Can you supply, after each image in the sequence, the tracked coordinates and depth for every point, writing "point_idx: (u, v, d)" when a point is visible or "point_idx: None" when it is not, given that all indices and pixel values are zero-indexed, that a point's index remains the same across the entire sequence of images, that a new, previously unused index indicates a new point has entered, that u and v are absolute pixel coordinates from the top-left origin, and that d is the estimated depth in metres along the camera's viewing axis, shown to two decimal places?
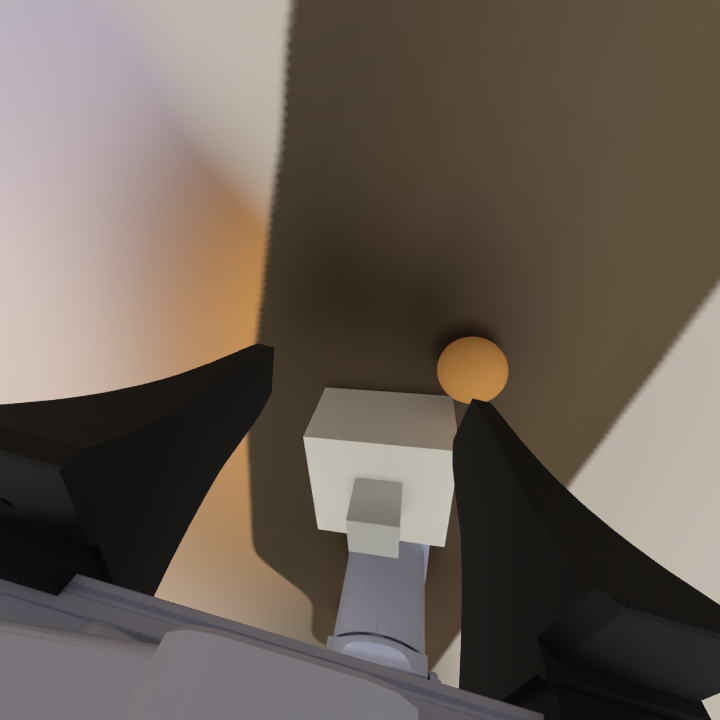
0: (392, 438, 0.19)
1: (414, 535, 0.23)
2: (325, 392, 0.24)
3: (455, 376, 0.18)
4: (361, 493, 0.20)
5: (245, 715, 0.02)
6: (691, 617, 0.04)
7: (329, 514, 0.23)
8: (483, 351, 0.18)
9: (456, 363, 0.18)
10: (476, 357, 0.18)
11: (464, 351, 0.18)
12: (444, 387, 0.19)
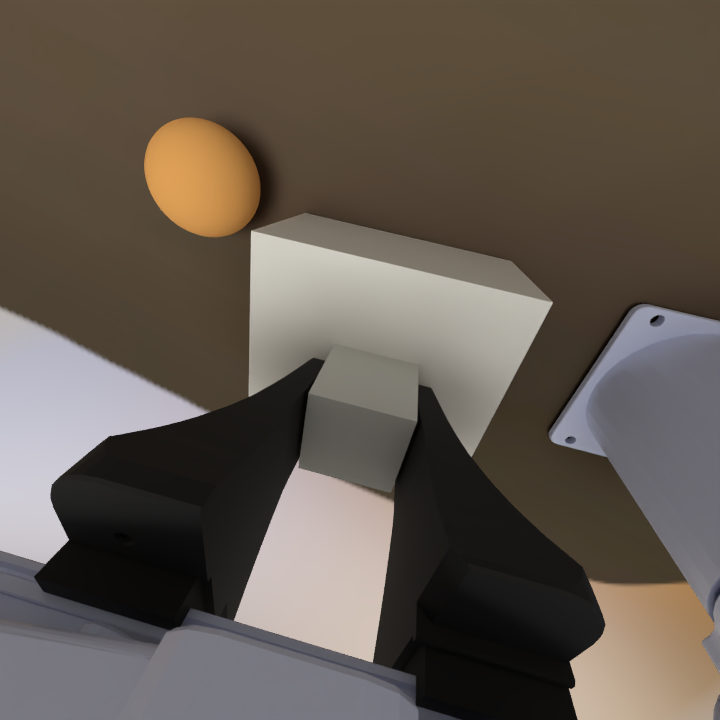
0: None
1: (494, 355, 0.11)
2: None
3: (170, 213, 0.12)
4: None
5: (245, 715, 0.02)
6: (540, 574, 0.04)
7: None
8: None
9: (160, 208, 0.12)
10: None
11: None
12: (209, 231, 0.12)
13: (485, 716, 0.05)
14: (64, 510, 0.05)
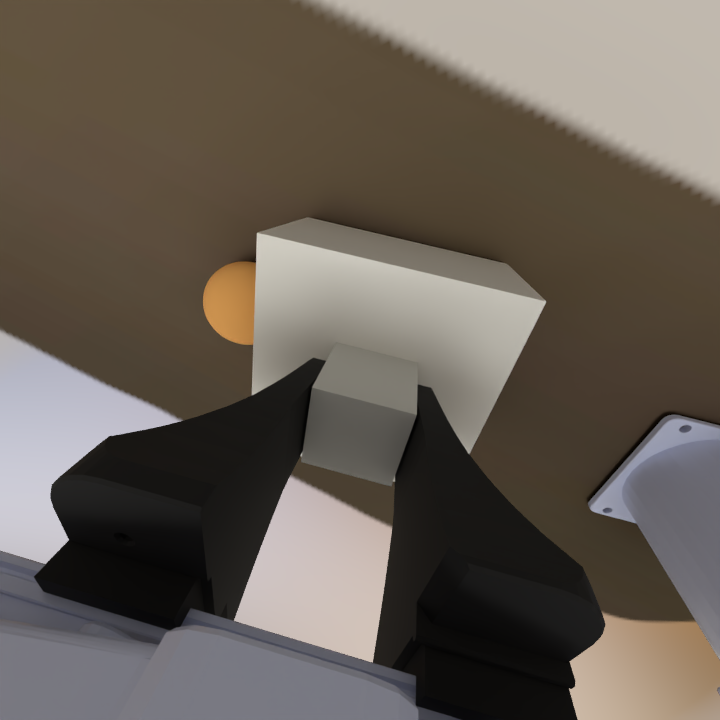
0: None
1: (491, 354, 0.11)
2: None
3: None
4: None
5: (245, 715, 0.02)
6: (540, 574, 0.04)
7: None
8: None
9: None
10: None
11: None
12: None
13: (485, 716, 0.05)
14: (64, 510, 0.05)
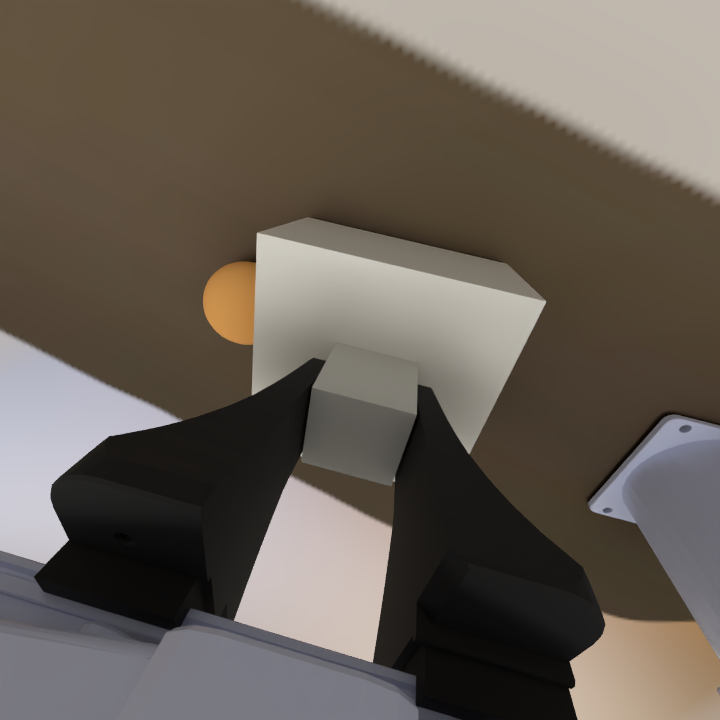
0: None
1: (491, 354, 0.11)
2: None
3: None
4: None
5: (245, 715, 0.02)
6: (540, 574, 0.04)
7: None
8: None
9: None
10: None
11: None
12: None
13: (485, 716, 0.05)
14: (64, 510, 0.05)
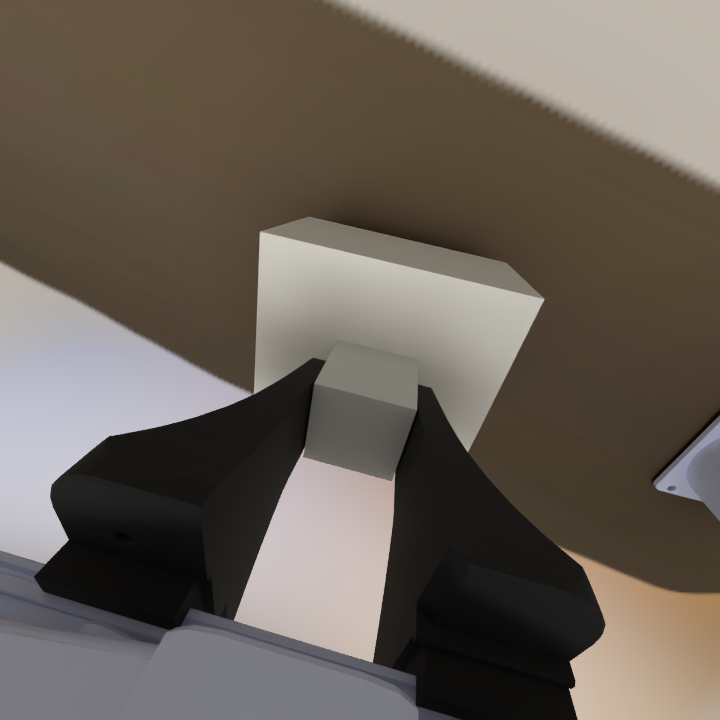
0: None
1: (490, 350, 0.11)
2: None
3: None
4: None
5: (244, 716, 0.02)
6: (540, 574, 0.04)
7: None
8: None
9: None
10: None
11: None
12: None
13: (485, 716, 0.05)
14: (64, 510, 0.05)
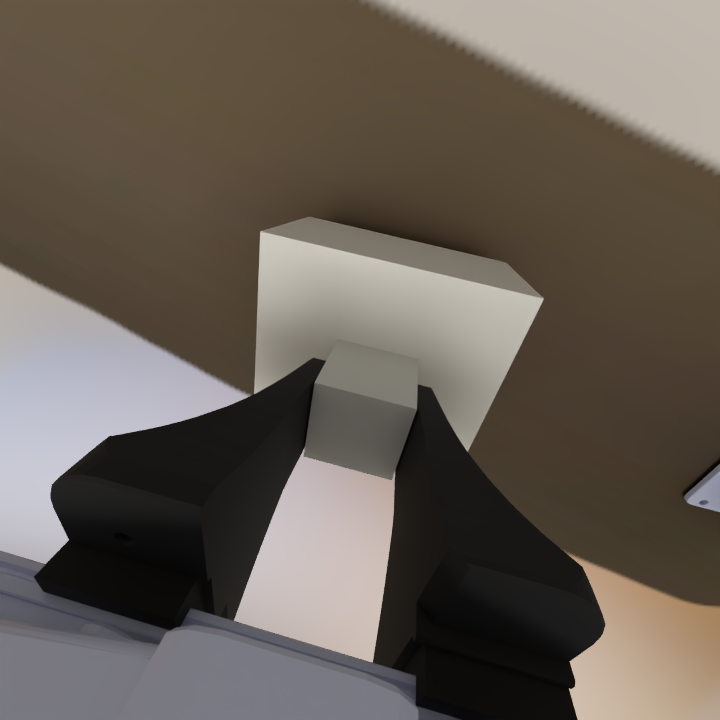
0: None
1: (490, 350, 0.11)
2: None
3: None
4: None
5: (244, 715, 0.02)
6: (540, 574, 0.04)
7: None
8: None
9: None
10: None
11: None
12: None
13: (485, 716, 0.05)
14: (64, 510, 0.05)
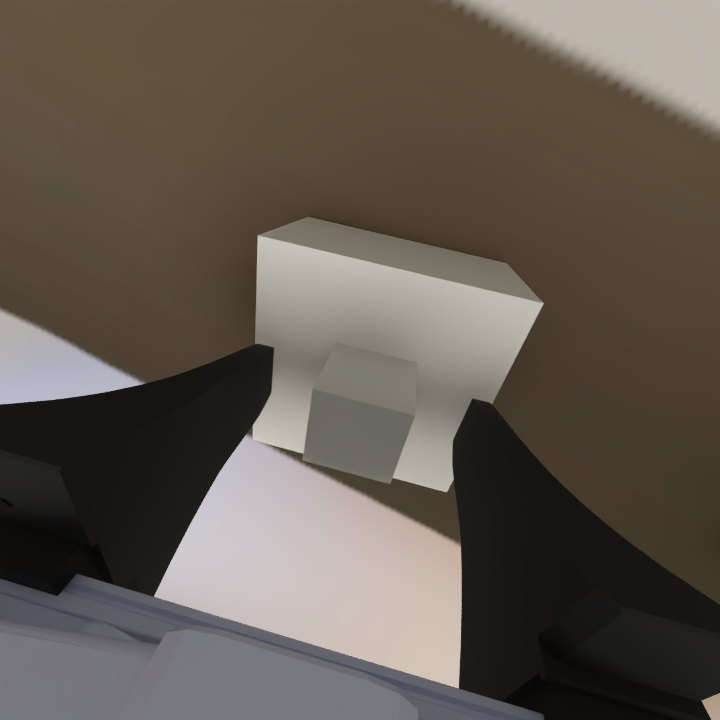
0: None
1: (489, 354, 0.11)
2: None
3: None
4: None
5: (245, 715, 0.02)
6: (691, 616, 0.04)
7: (411, 465, 0.14)
8: None
9: None
10: None
11: None
12: None
13: None
14: None
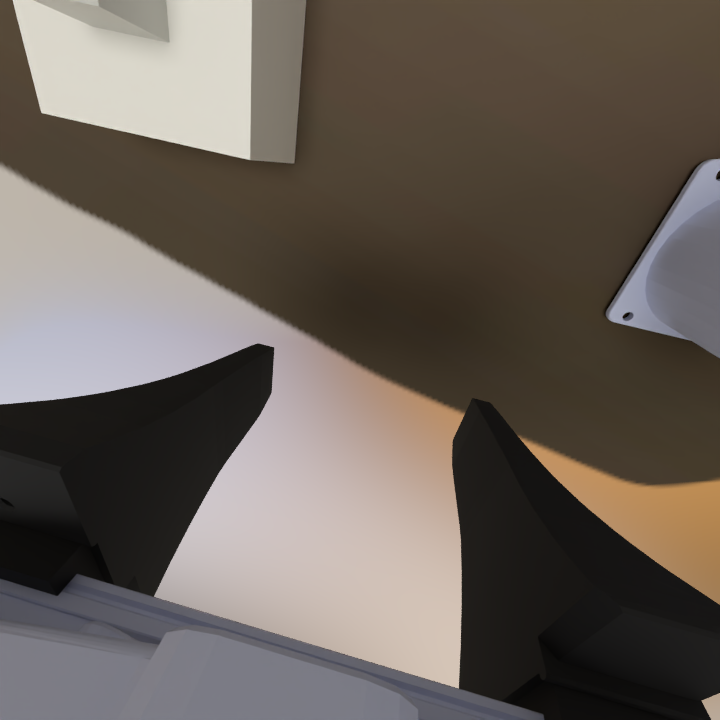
0: None
1: None
2: None
3: None
4: None
5: (245, 716, 0.02)
6: (691, 616, 0.04)
7: (203, 118, 0.13)
8: None
9: None
10: None
11: None
12: None
13: None
14: None
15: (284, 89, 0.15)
